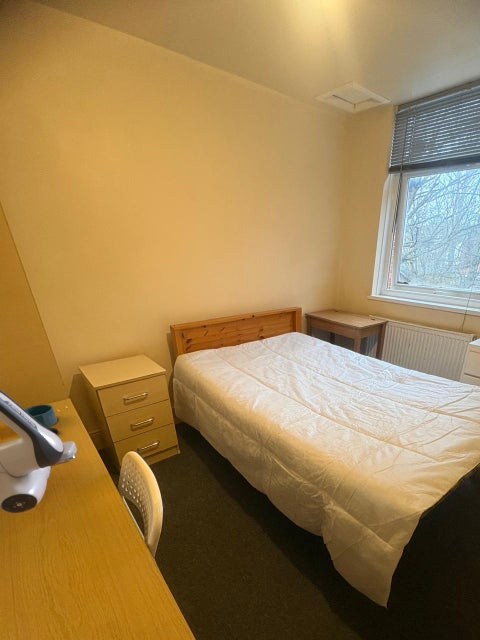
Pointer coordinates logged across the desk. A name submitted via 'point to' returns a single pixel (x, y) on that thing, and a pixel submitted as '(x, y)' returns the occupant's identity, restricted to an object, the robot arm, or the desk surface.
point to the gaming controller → (53, 429)
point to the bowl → (43, 414)
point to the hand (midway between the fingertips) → (41, 444)
